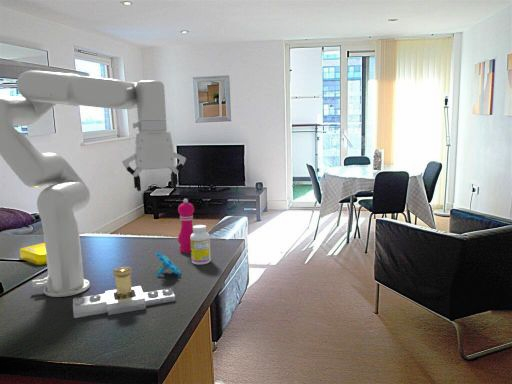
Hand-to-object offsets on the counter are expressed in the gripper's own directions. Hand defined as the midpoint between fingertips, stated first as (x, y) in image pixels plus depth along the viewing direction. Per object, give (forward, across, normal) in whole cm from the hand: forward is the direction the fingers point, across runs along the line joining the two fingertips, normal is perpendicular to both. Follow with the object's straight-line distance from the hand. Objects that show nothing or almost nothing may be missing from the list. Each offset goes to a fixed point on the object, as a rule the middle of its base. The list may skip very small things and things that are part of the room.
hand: (156, 189), depth 126 cm
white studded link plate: (+30, -11, -5) cm, 33 cm away
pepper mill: (+31, +16, +38) cm, 51 cm away
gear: (+32, +6, +14) cm, 35 cm away
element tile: (+31, -33, +53) cm, 70 cm away
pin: (+30, -11, -5) cm, 33 cm away
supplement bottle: (+31, +17, +22) cm, 41 cm away
